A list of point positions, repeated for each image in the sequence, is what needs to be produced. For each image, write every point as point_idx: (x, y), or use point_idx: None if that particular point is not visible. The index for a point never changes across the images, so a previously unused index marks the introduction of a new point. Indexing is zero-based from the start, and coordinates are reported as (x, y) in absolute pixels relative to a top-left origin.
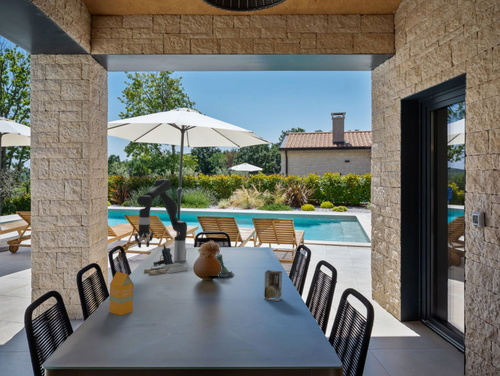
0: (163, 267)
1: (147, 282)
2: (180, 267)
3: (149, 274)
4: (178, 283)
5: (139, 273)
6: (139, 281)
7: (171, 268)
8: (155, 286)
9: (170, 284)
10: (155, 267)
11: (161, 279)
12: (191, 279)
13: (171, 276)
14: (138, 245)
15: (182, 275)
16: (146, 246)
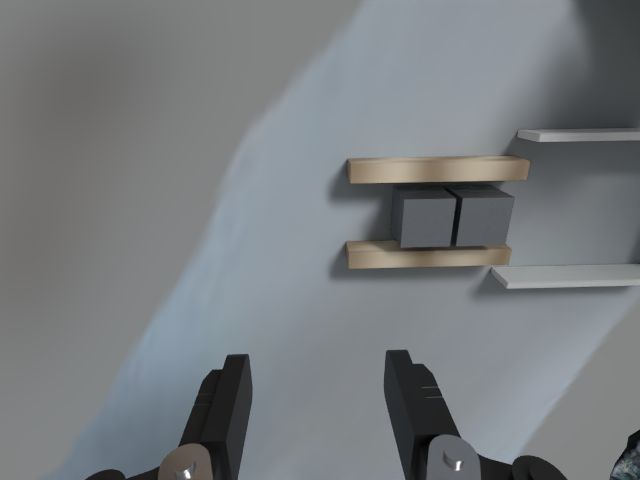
0: (496, 243)
1: (259, 393)
2: (612, 285)
3: (346, 255)
4: (391, 469)
5: (302, 166)
6: (224, 357)
7: (533, 283)
8: (267, 463)
9: (348, 466)
10: (431, 229)
11: (358, 378)
12: (492, 445)
13: (447, 351)
14: (203, 402)
15: (516, 362)
16: (387, 356)
